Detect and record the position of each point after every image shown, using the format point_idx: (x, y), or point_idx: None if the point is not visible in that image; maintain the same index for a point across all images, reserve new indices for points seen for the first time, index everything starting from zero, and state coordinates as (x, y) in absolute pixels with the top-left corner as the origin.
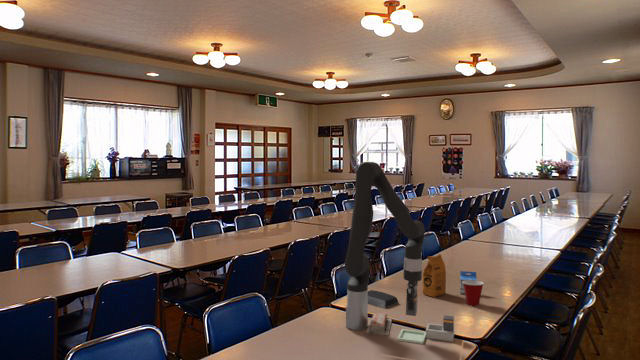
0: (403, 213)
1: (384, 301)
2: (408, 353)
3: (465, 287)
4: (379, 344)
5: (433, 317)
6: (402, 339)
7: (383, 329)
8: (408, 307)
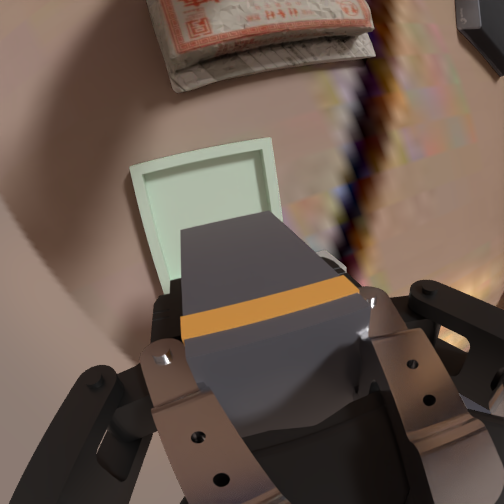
0: None
1: (478, 25)
2: (55, 265)
3: None
4: (60, 109)
5: (455, 215)
6: (136, 194)
7: (169, 61)
8: (171, 295)
